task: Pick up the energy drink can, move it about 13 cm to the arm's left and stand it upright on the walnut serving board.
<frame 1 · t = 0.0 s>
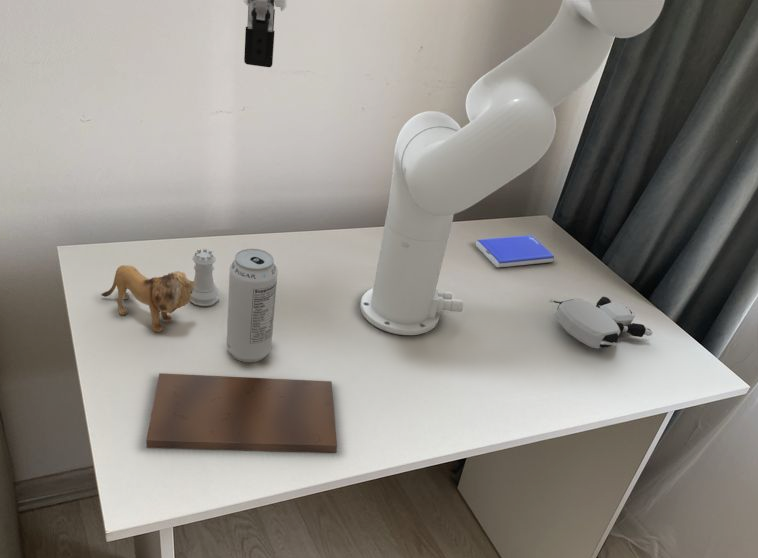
hand: (259, 52, 89), 37 cm above the table, tool pointing down, fingers open, 9 cm apart
robot toy: (595, 333, 121), on the table
rook chess piece: (203, 300, 109), on the table
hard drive: (513, 255, 138), on the table
lion figurine: (149, 316, 104), on the table
energy drink can: (248, 352, 102), on the table
serving board: (245, 415, 91), on the table
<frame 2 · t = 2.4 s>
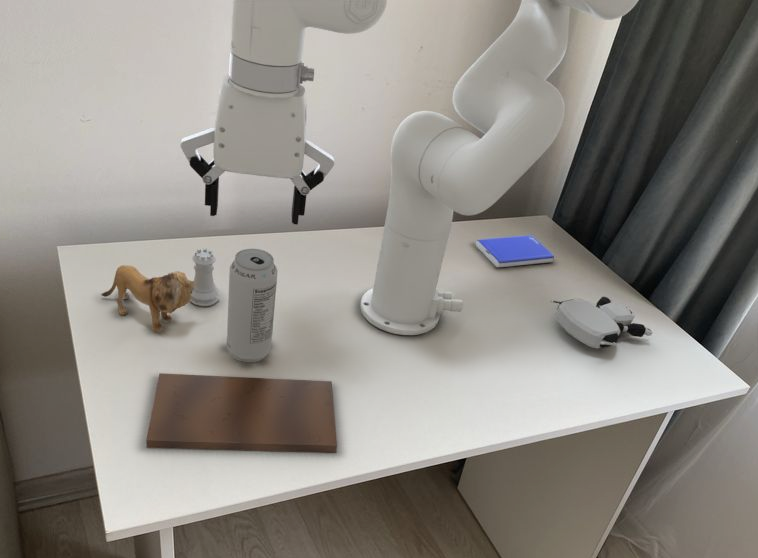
hand: (254, 215, 89), 21 cm above the table, tool pointing down, fingers open, 9 cm apart
nothing on the table moved.
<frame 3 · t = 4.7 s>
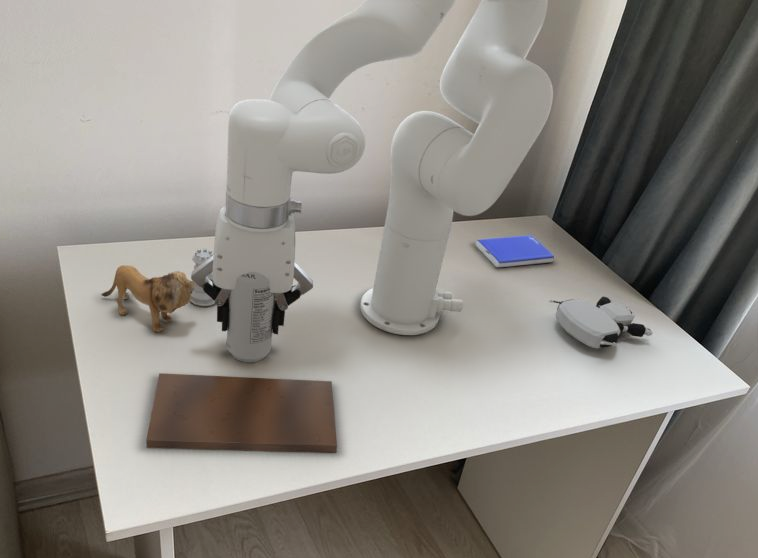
hand: (250, 325, 99), 4 cm above the table, tool pointing down, fingers closed on energy drink can, 6 cm apart
energy drink can: (248, 352, 102), on the table, touching gripper
everything else where it was.
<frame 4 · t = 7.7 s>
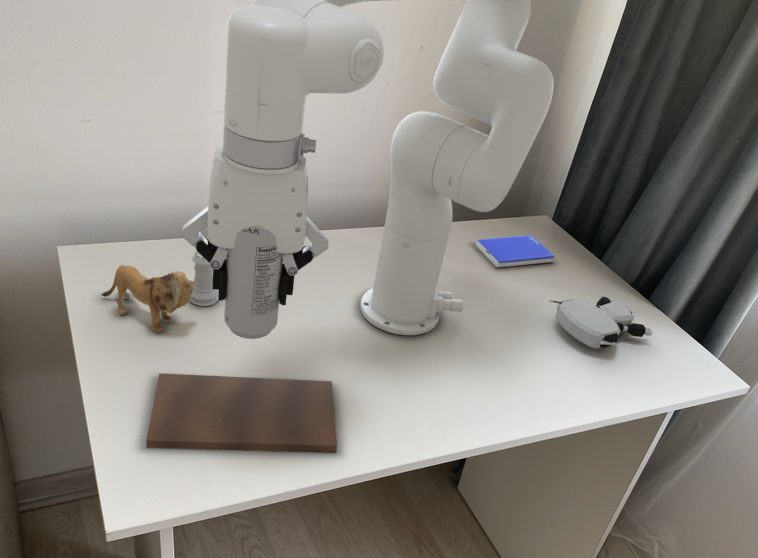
hand: (252, 295, 83), 17 cm above the table, tool pointing down, fingers closed on energy drink can, 6 cm apart
energy drink can: (250, 327, 85), point 12 cm above the table, touching gripper
everything else where it was.
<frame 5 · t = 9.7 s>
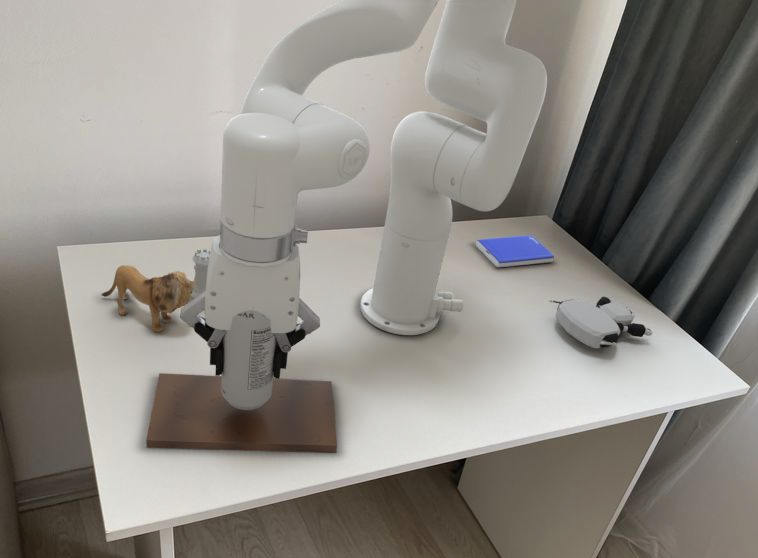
hand: (248, 368, 87), 8 cm above the table, tool pointing down, fingers closed on energy drink can, 6 cm apart
energy drink can: (246, 397, 90), point 3 cm above the table, touching gripper
everything else where it was.
when the fingers open (6 cm above the table, at t = 10.8 s): energy drink can stays where it is, resting on serving board.
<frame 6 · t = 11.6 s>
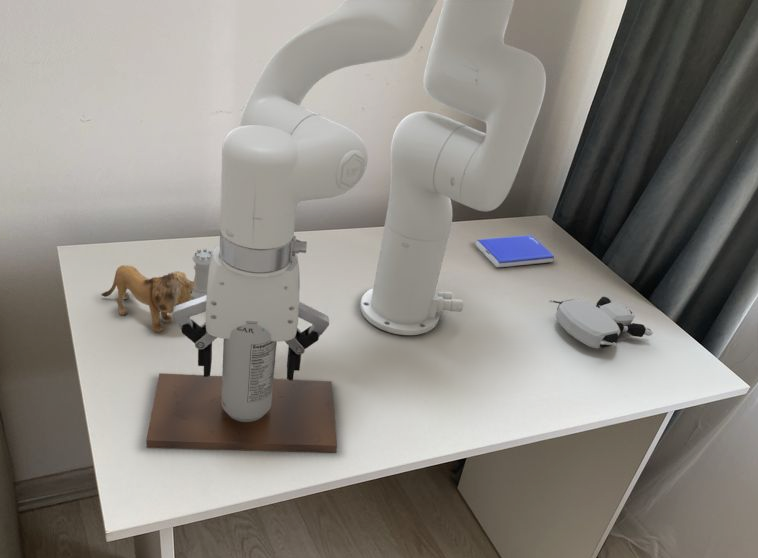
hand: (249, 371, 87), 7 cm above the table, tool pointing down, fingers open, 9 cm apart
energy drink can: (246, 409, 91), point 1 cm above the table, touching serving board
everything else where it was.
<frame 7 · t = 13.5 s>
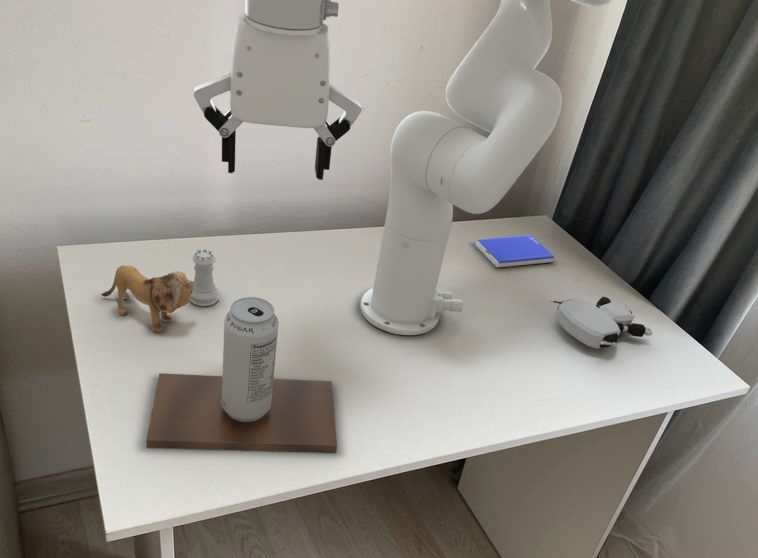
hand: (275, 171, 82), 29 cm above the table, tool pointing down, fingers open, 9 cm apart
nothing on the table moved.
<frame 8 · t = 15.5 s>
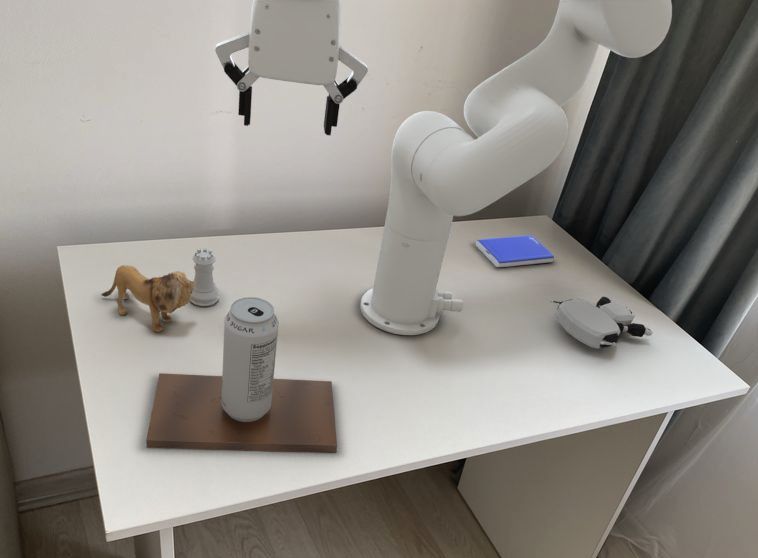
hand: (287, 126, 89), 30 cm above the table, tool pointing down, fingers open, 9 cm apart
nothing on the table moved.
at the end: energy drink can inside the target area on the serving board (0.0 cm from its centre), point 1.0 cm above the serving board's base; energy drink can tilted 0°; energy drink can moved 13.0 cm from its start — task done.
